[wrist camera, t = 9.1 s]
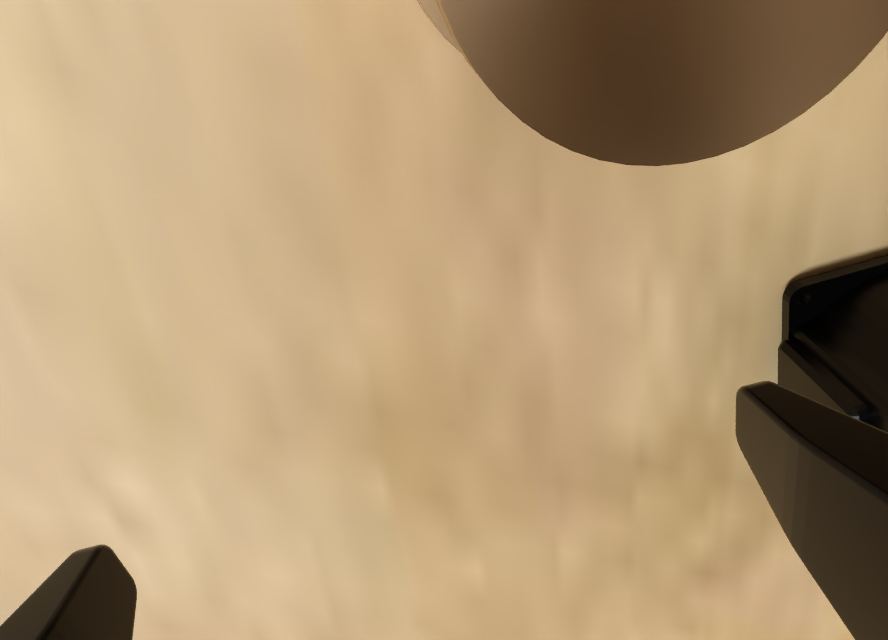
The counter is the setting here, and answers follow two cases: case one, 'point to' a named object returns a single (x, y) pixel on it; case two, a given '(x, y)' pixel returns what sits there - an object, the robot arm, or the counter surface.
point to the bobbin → (659, 67)
